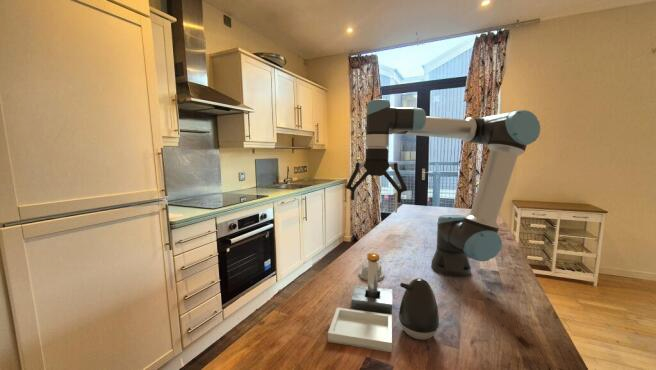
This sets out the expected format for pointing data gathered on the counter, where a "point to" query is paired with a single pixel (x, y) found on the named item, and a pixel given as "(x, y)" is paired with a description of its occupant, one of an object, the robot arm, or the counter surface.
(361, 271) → the mechanical component
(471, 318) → the counter surface
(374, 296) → the pin
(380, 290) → the block
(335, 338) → the tray
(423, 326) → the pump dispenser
